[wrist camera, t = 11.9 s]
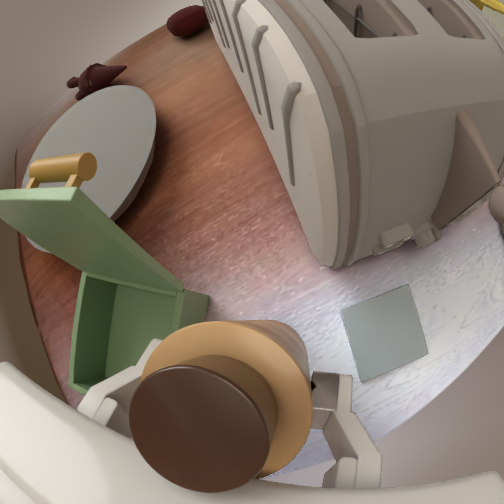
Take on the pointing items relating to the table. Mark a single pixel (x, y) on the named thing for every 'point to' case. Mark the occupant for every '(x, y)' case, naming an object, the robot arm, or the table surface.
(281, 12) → the toaster
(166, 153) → the table surface
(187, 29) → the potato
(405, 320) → the tile
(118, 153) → the flat disc
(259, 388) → the pepper mill
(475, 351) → the table surface
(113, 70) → the gnome figurine
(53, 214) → the box lid
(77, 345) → the green box
